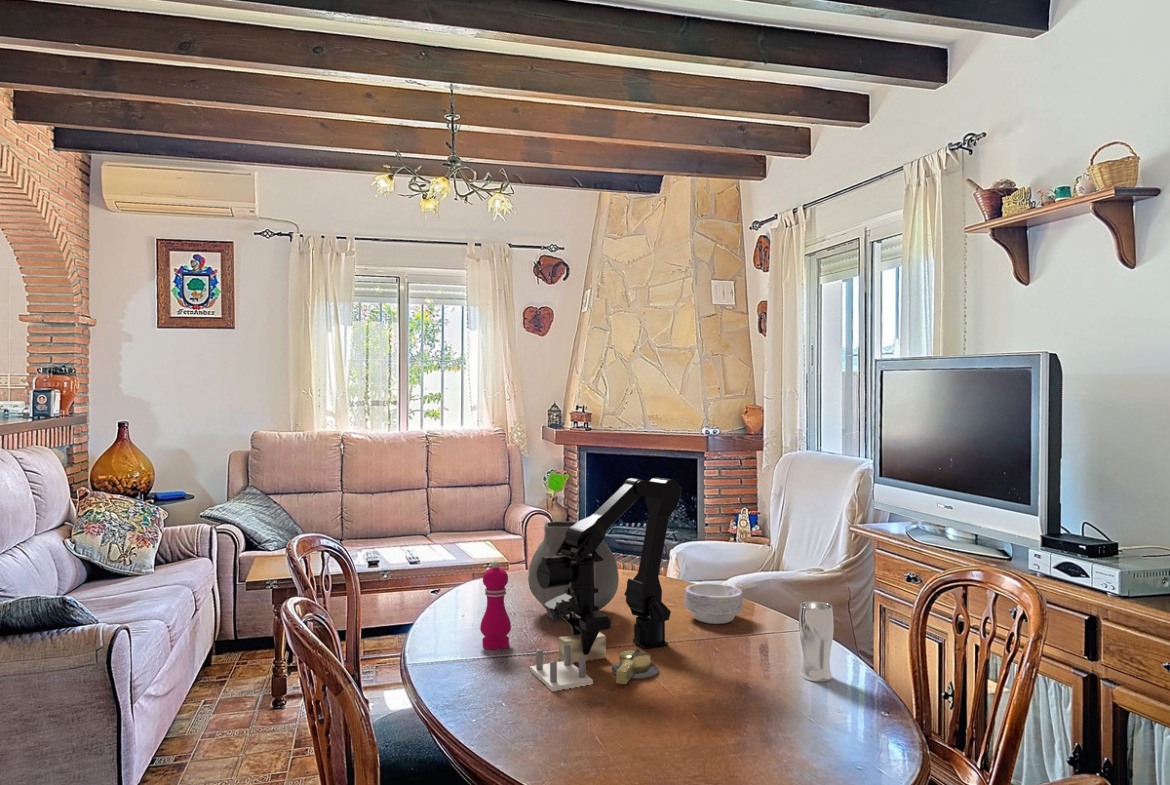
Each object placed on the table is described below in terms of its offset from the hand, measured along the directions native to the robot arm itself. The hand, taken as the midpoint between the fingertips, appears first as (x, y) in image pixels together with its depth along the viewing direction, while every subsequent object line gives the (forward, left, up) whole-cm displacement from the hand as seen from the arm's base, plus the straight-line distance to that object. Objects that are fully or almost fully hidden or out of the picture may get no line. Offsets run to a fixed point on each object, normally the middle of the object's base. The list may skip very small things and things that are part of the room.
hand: (582, 651), depth 179 cm
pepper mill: (+15, -17, -2) cm, 23 cm away
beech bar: (0, 0, -2) cm, 2 cm away
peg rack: (+9, +9, -2) cm, 13 cm away
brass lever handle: (-5, +15, -1) cm, 15 cm away
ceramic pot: (-12, -33, -2) cm, 35 cm away
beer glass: (-40, +31, -2) cm, 51 cm away
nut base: (-7, +12, -2) cm, 14 cm away
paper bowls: (-44, -14, -2) cm, 46 cm away
